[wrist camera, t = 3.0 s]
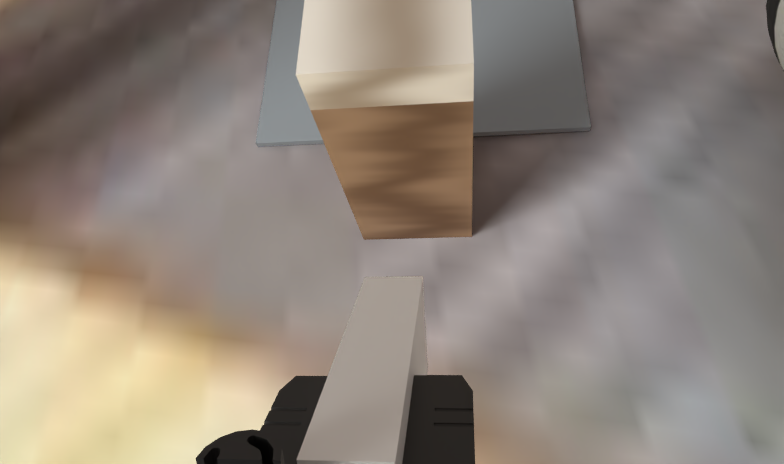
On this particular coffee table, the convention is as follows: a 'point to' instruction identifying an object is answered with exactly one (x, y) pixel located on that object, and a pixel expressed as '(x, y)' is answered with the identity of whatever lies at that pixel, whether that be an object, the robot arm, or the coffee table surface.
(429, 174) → the block
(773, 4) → the sunflower seed
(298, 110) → the mat
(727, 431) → the coffee table surface
